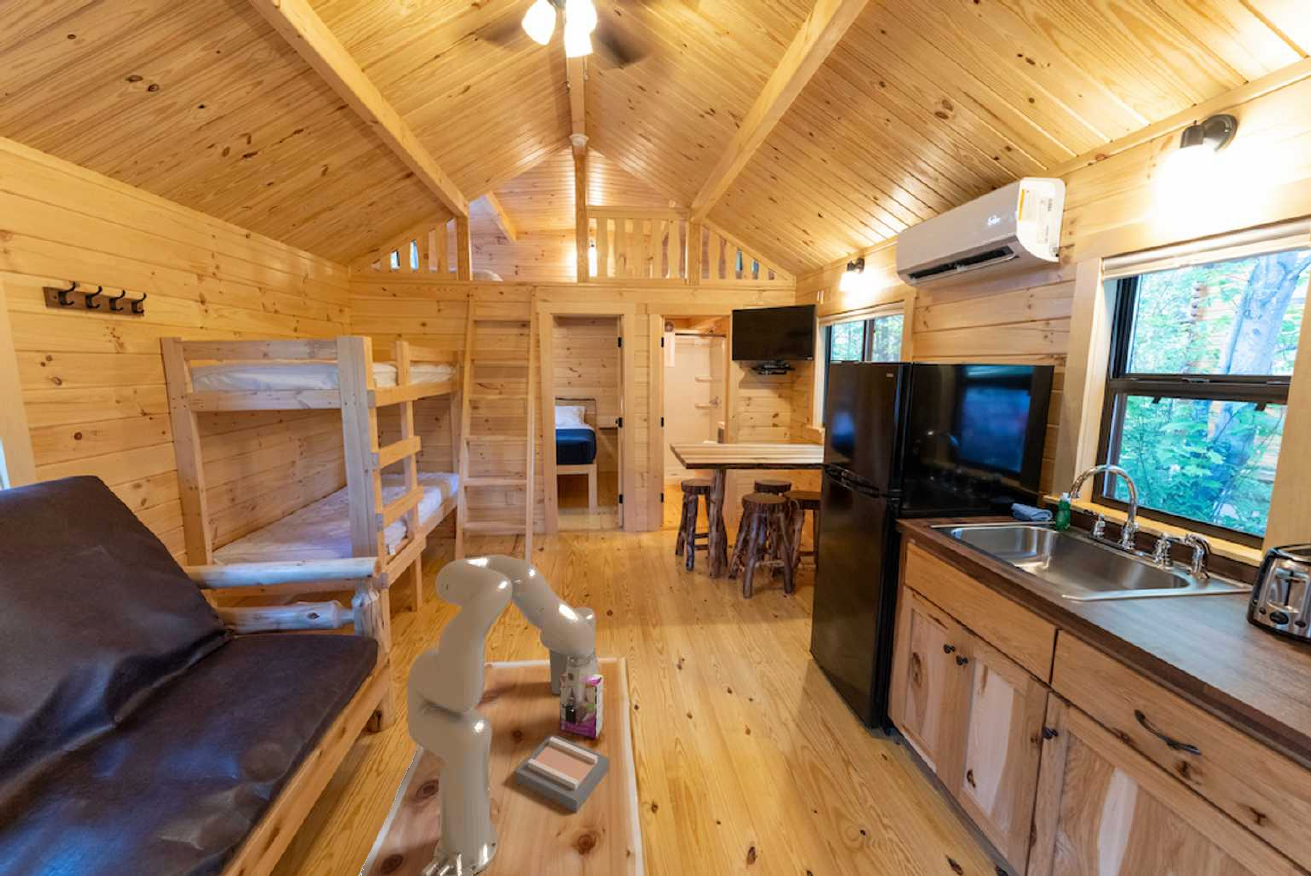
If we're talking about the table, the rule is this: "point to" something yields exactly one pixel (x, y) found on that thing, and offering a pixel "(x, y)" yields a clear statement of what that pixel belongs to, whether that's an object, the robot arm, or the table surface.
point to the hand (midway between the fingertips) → (581, 710)
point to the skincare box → (557, 669)
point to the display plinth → (562, 771)
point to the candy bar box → (585, 708)
